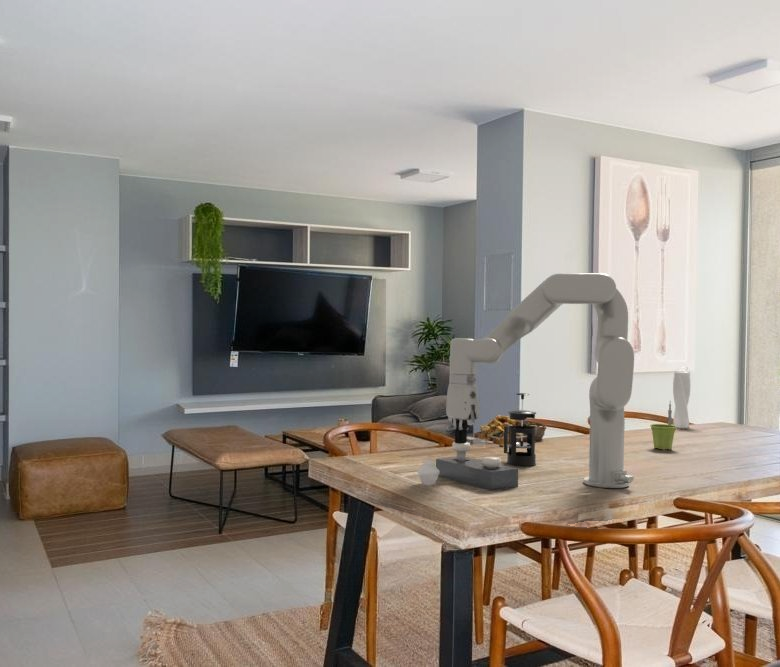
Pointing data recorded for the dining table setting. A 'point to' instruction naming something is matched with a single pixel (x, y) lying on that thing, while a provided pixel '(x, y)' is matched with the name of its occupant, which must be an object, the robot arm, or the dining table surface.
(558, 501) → the dining table surface
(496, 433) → the food tray
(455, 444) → the knob
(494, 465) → the knob
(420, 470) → the white ribbed round lump
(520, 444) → the french press
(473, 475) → the mount
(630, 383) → the robot arm
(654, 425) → the plant pot
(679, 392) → the skyscraper
